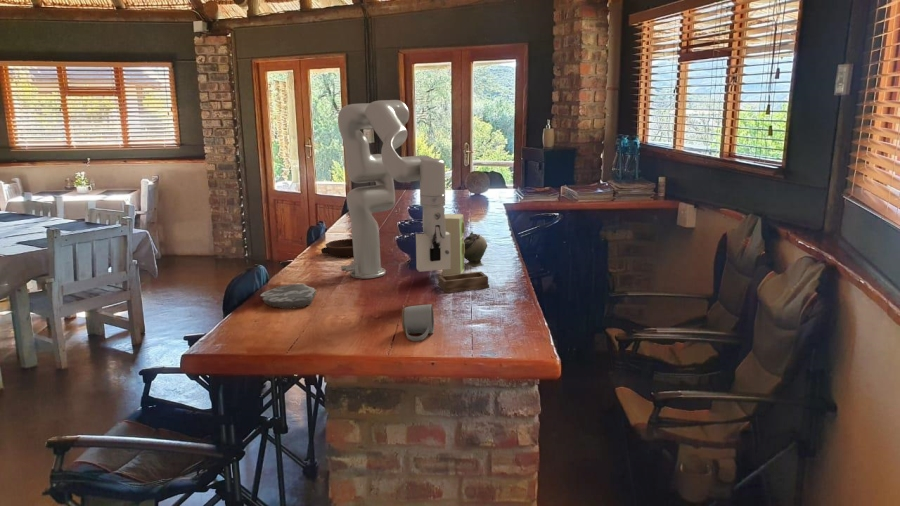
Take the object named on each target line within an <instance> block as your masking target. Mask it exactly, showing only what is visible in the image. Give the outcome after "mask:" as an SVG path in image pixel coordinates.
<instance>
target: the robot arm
mask: <svg viewBox="0 0 900 506" xmlns="http://www.w3.org/2000/svg"><path fill="white" fill-rule="evenodd" d="M409 119H410V111H409V108H408V106H407V105H406V103H405V102H403V101H402V100H399V99H390V100H389V99H388V100H387V99H385V100H384V99H382V100H375V101H371V102H370V103H369V102H368V103H366V102H365V103H364V102H363V103H350V104H347V105H345V106H342V108H341V109H340V110H339V111H338V114H337V126H338V130H339V133H340V136H341V139H342V142H343V146H344V155H345V163H346V169H347V176H348V179H349V180H350V182H352V183H355V184H366V183H373V182H375V185H367V186H357V187H355V188H353V189H350V191H349V192H348V193H347V195H346V204H347V208H348V209H347V210H348V212H349V217H350V227H351V236H352V237H351V239H352V240H353V255H354V257H353V261H352V262H351V263H350V264H348V265H347V264H346V265H340V268H341V269H340V270H341V272H344V271H345V273H346V272H350V273H349V274H350V276H351V277H352V278H354V279H368V280H369V279H374V278H375V279H376V278H380V277H382V276H384V275H385V274H387V273H386V271H387V270H386V269H385V268H383V267H382V264H381V246H380V242H381V241H380V232H379V231H380V229H379V228H380V227H379V224H378V222H377V220H376V219H375V217H374V216H373V214H375V213H381V212H385V211H390V210H392V209H393V208H394V206H395V204H396V191H395V183H394V182H395V181H396V182H398V183H409V182H416V181H417V182H418V181H419V199H420V200H419V202H420V203H419V205H420V206H421V207H422V231H423V234H424V233H425V234H426V235H428V237H429V238H430V239H431V248H430V261H440V260H441V251H440V248H441V245H440V244H441V237H442V238H445V237H446V229H445V214H446V213H445V208H444V206H446V163H445V160H443V159H441V158H436V157H435V158H434V157H431V156H429V155H425V154H424V155H423V154H422V155H413V156H412V155H411V156H400V155H399V154H398V153H397V151H396V150H397V149H398V148H399V147H401V146H402V145H403V144H404V143H405V142H406V140H407V138H408V130H407V128H406V127H405V125H406V124H407V123H408V121H409ZM369 129H370V130H371V129H373V130H374V132H375V133H376V135H377V137H379V140H380V141H381V142H382V147H381V151H380V152H381V153H375V154H371V150H370V143H369V140H368V138H367V136H366V135H365V134H364V133H363V132H362V131H361V130H369ZM394 180H395V181H394ZM433 236H435V237H436V238H434V237H433ZM440 236H441V237H440ZM433 240H435V241H434V243H433Z"/></svg>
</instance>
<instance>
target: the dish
mask: <svg viewBox="0 0 900 506" xmlns="http://www.w3.org/2000/svg"><path fill="white" fill-rule="evenodd" d="M320 250H321V252H320V253H321V254H323V255H324V254H325V255H330V256H332V257H334V256H335V258H354V255H353V240H352V238H344V239H337V240H332V241H329V242H327V243H326V244H325V246H324V247H322V248H321V249H320Z"/></svg>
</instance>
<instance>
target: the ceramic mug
mask: <svg viewBox="0 0 900 506" xmlns="http://www.w3.org/2000/svg"><path fill="white" fill-rule="evenodd" d="M401 325H402V331H403V332H404V333H405V334H406V338H407V339H408V340H410V341H411V342H420V341H424V340H426V339H425V338H427V337H428V334H431V335H433V334H434V330H435V316H434V308H433V304H430V303H429V304H422V305H420V304H419V305H409V306H406V307H403V309H402V310H401ZM411 334H413V335H414V334H420V335H418V336H413V335H411Z"/></svg>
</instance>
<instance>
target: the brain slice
mask: <svg viewBox="0 0 900 506" xmlns="http://www.w3.org/2000/svg"><path fill="white" fill-rule="evenodd" d="M316 293H317V291H316V289H315V287H312V286H308V285H307V284H305V283H295V284H286V285H279V286H277V287H274V288H271V289H267V290H266V291H264V292H262V293H261V294H259V296H260V297H261V299H262V301H263V302H264V304H266V305H268V306H270V305H271V306H270V307H272V306H274V307H273V308H276V307H280V309H294V308H293V307H296V308H304V307H303V306H305V307H307V306H306V305H308V306H310V305H311V304H312V302H313V300H314V298H315V297H316V295H317V294H316Z"/></svg>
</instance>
